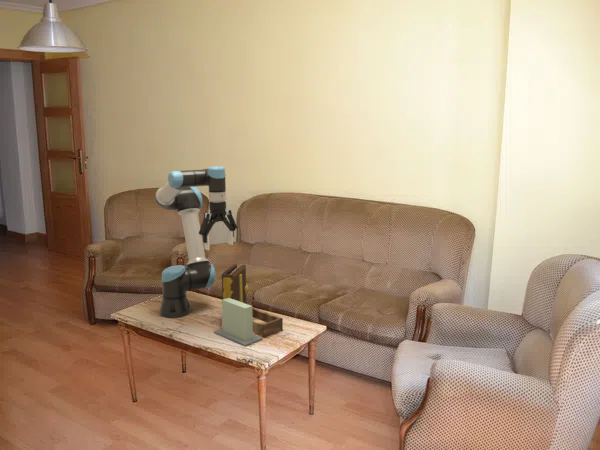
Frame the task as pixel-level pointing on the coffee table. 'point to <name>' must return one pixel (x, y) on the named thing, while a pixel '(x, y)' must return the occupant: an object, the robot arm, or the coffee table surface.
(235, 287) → the book
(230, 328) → the pale green slab
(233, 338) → the mat
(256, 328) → the brown wooden bar
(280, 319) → the frame
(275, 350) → the coffee table surface
